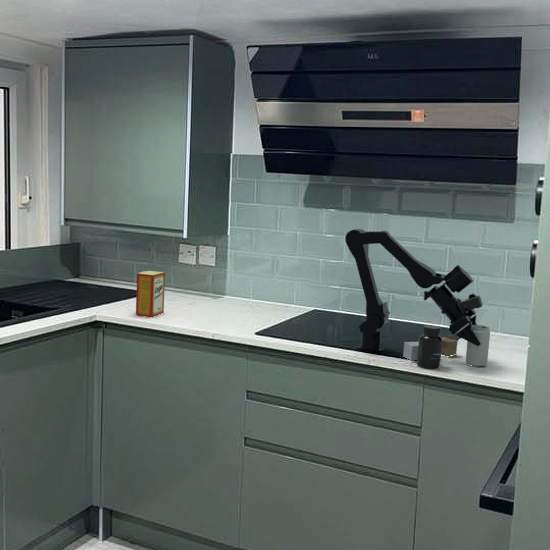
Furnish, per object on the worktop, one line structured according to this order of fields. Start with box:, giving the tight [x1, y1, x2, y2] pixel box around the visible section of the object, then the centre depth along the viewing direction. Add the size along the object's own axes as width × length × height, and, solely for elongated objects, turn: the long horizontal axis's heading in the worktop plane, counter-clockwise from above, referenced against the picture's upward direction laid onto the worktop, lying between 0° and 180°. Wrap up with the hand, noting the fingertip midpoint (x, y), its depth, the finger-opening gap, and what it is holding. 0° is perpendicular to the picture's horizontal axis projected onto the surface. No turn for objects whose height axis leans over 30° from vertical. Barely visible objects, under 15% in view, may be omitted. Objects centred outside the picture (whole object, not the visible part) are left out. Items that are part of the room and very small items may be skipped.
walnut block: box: [441, 336, 458, 356], centre depth 230 cm, size 5×5×5 cm
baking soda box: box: [135, 270, 166, 318], centre depth 267 cm, size 10×6×16 cm
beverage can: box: [465, 324, 491, 367], centre depth 218 cm, size 6×6×12 cm
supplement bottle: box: [416, 325, 443, 370], centre depth 214 cm, size 7×7×12 cm
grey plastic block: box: [402, 341, 419, 362], centre depth 222 cm, size 5×5×5 cm
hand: (481, 342), depth 218 cm, fingers open, 9 cm apart
